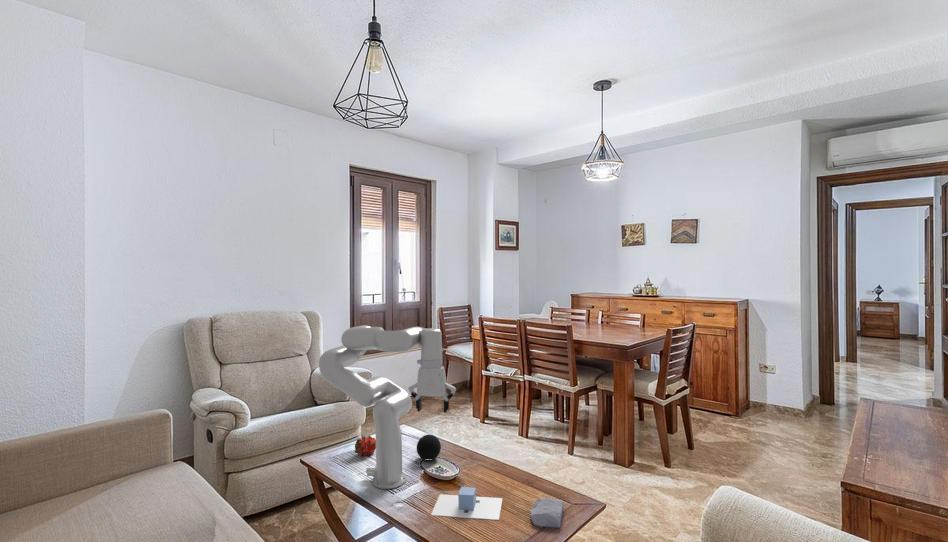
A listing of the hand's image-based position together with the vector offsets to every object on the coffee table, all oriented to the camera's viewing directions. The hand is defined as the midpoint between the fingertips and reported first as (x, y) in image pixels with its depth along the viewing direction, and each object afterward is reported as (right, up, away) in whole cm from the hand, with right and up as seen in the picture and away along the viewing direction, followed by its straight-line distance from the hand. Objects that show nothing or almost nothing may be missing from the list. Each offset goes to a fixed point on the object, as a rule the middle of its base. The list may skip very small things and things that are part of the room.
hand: (432, 410), depth 161 cm
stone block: (+38, -29, -18) cm, 51 cm away
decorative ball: (-4, -28, +25) cm, 38 cm away
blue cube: (+13, -28, -12) cm, 33 cm away
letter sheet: (+13, -28, -12) cm, 33 cm away
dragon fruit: (-31, -29, +32) cm, 53 cm away
